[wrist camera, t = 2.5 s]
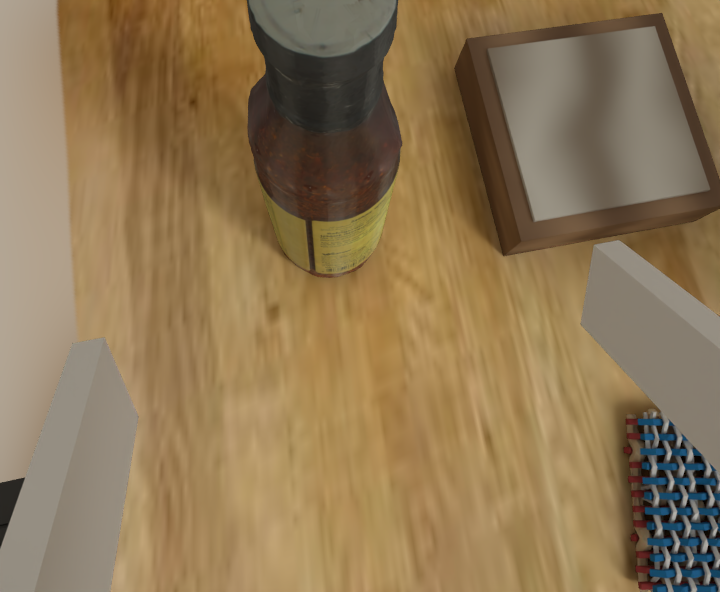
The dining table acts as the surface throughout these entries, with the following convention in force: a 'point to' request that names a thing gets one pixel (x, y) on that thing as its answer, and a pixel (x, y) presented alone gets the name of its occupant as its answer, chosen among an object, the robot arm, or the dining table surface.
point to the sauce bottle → (324, 127)
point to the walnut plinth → (585, 132)
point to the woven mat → (673, 509)
